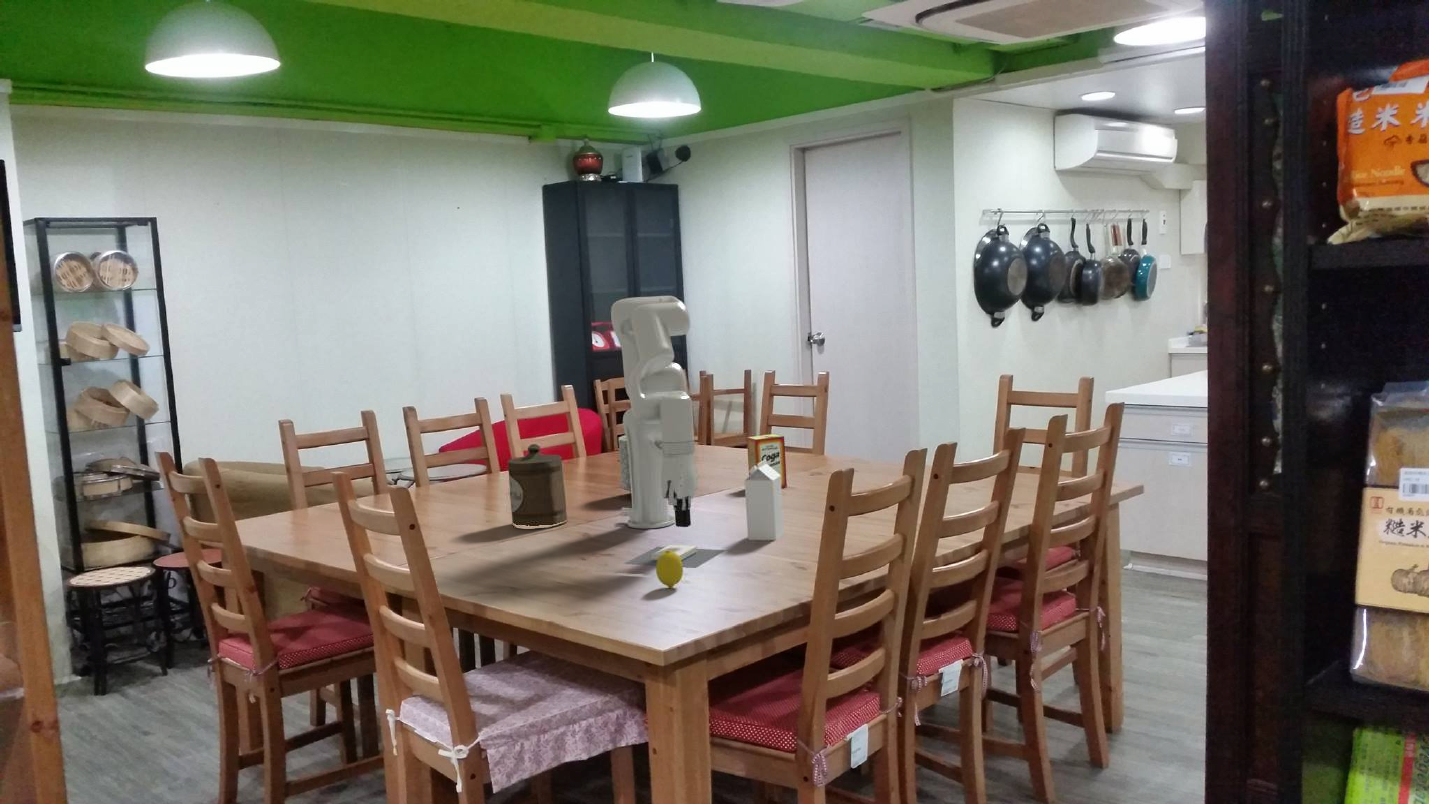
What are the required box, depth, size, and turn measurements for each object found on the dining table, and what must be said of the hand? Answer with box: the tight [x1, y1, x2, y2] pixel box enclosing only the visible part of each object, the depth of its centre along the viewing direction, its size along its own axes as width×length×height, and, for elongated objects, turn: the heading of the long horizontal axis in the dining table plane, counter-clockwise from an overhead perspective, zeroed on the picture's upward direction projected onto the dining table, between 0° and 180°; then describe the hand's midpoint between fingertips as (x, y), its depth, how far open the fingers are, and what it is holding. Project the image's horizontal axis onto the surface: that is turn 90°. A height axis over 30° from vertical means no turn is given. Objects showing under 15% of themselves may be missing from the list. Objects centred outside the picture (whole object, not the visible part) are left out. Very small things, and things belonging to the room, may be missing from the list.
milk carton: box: [744, 459, 785, 541], centre depth 265 cm, size 7×7×19 cm
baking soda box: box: [746, 433, 788, 489], centre depth 332 cm, size 10×6×16 cm
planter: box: [617, 435, 662, 493], centre depth 331 cm, size 19×19×18 cm
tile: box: [652, 544, 698, 561], centre depth 250 cm, size 7×2×9 cm
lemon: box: [655, 550, 684, 589], centre depth 226 cm, size 6×6×8 cm
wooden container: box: [507, 443, 568, 526], centre depth 299 cm, size 15×15×22 cm
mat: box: [623, 546, 727, 569], centre depth 251 cm, size 18×16×1 cm
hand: (683, 525), depth 255 cm, fingers closed
